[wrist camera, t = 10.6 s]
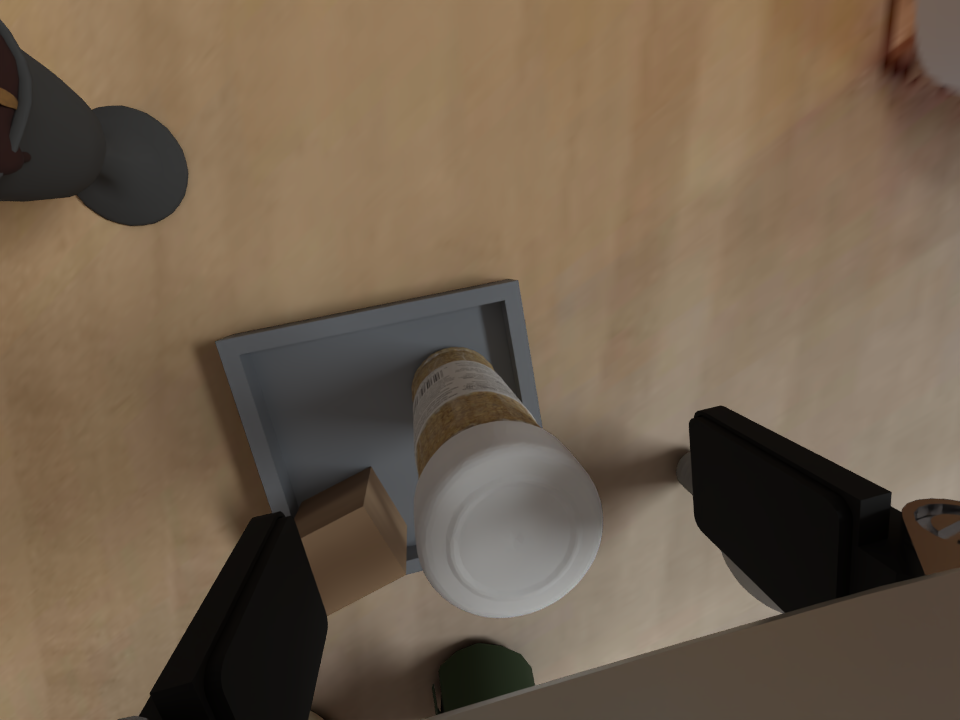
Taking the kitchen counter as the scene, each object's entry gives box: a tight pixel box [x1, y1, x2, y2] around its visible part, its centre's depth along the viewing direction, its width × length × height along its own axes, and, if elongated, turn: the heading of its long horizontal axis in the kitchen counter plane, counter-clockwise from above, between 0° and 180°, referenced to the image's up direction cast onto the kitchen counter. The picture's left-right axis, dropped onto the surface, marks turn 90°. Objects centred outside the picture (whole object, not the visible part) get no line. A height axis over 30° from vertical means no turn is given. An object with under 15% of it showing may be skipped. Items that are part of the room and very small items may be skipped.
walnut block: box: [294, 467, 407, 616], centre depth 22 cm, size 4×4×4 cm
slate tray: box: [215, 279, 543, 575], centre depth 23 cm, size 14×14×2 cm
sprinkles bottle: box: [411, 347, 603, 618], centre depth 17 cm, size 5×5×14 cm
